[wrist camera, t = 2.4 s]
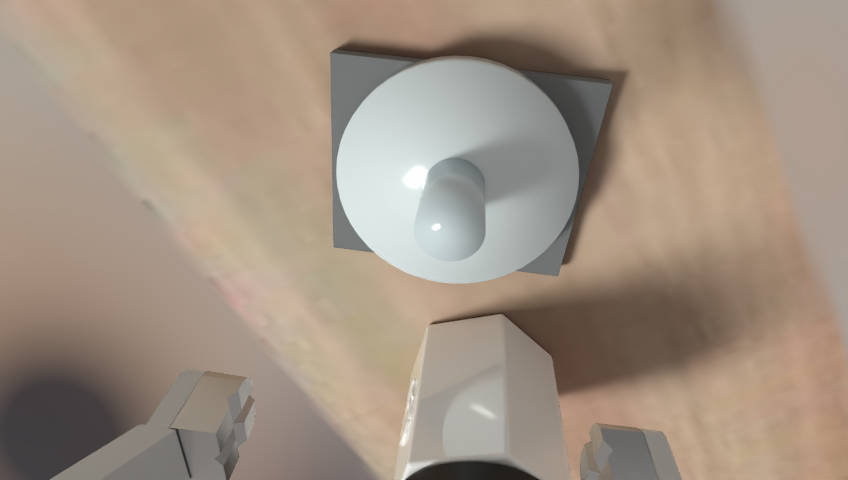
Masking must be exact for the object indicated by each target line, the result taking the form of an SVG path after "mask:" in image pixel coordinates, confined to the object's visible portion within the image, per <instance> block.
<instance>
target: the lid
mask: <svg viewBox="0 0 848 480" xmlns="http://www.w3.org/2000/svg"><path fill="white" fill-rule="evenodd" d="M336 176H337V187H338V192H339V196H340V200H341V203H342V206H343V209H344V211H345V214H346V216H347V218H348V219H349V221H350V223H351V225H352V227H353V228H354V230H355V231H356V232H357V234H358V235H359V237H360V238H361V239H362V240H363V241H364V242H365V243H366V245H367V246H368V247H369V248H370V249H371V250H373V251H374V252H375V253H376V254H377V255H378V256H379V257H381V258H382V259H384V260H385V261H387V262H388V263H389V264H391V265H393V266H395V267H397V268H398V269H400V270H402V271H404V272H407V273H409V274H412V275H414V276H417V277H420V278H424V279H427V280H432V281H437V282H443V283H456V284H457V283H475V282H482V281H487V280H491V279H495V278H499V277H501V276H504V275H507V274H510V273H512V272H514V271H516V270H518V269H520V268H522V267H524V266H525V265H527V264H528V263H530V262H531V261H533V260H535V259H536V258H537V257H538V256H539V255H541V254H542V253H543V252H544V251H545V250H546V249H547V248H548V247H549V246H550V245H551V244H552V243H553V242H554V241H555V240H556V238H557V237H558V236H559V234H560V233H561V231H562V230H563V228H564V227H565V225H566V223H567V221H568V219H569V217H570V215H571V213H572V210H573V207H574V204H575V201H576V196H577V192H578V185H579V165H578V156H577V152H576V148H575V144H574V141H573V138H572V136H571V134H570V131H569V129H568V126H567V124H566V122H565V119H564V117H563V116H562V114H561V112H560V111H559V109H558V107H557V106H556V104H555V103H554V102H553V101H552V99H551V98H550V97H549V96H548V95H547V93H546V92H545V91H544V90H543V89H541V88H540V87H539V86H538V85H537V84H536V83H535V82H534V81H532V80H531V79H529V78H528V77H526V76H525V75H523V74H522V73H521V72H519V71H517V70H515V69H513V68H511V67H509V66H507V65H505V64H502V63H499V62H496V61H492V60H489V59H485V58H479V57H474V56H457V55H453V56H442V57H435V58H431V59H427V60H422V61H419V62H417V63H414V64H412V65H409V66H406V67H404V68H402V69H401V70H399V71H397V72H395V73H393V74H392V75H390V76H389V77H388V78H386V79H385V80H384V81H382V82H381V83H380V84H378V85H377V86H376V87H375V88H374V89H373V90H372V91H371V92H370V93H369V94H368V95H367V97H366V98H365V99H364V101H363V102H362V103H361V105H360V106H359V107H358V109H357V110H356V112H355V113H354V114H353V116H352V118H351V119H350V121H349V123H348V125H347V127H346V129H345V131H344V134H343V137H342V139H341V142H340V146H339V151H338V156H337V167H336Z"/></svg>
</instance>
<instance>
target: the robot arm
mask: <svg viewBox="0 0 848 480" xmlns="http://www.w3.org/2000/svg"><path fill="white" fill-rule="evenodd" d="M252 388H253V386H252V382H251V378H248V377H242V376H236V375H229V374H223V373H216V372H210V371H204V370H197V369H190V368H187V369H185V370H184V371H183V372H182V373H181V374H180V375H179V376H178V378H177V379H176V381H175V382H174V384H173V385H172V387H171V388H170V390H169V391H168V393H167V394H166V396H165V397H164V399H163V400H162V402H161V403H160V405H159V406H158V408H157V409H156V411H155V412H154V414H153V415H152V417H151V418H150V420H149V421H148V422H147V424H146V425H138V426H136V427H135V428H133V429H131V430H130V431H128V432H126V433H125V434H123V435H122V436H120V437H118V438H117V439H115V440H114V441H112V442H110V443H109V444H107V445H105V446H104V447H102V448H101V449H99V450H97V451H96V452H94V453H92V454H91V455H89V456H88V457H86V458H84V459H83V460H81V461H79V462H78V463H76V464H75V465H73V466H71V467H70V468H68V469H66V470H65V471H63V472H62V473H60V474H58V475H57V476H55V477H53V478H52V479H50V480H190V479H194V480H229V478H230V476H231V474H232V472H233V470H234V468H235V465H236V463H237V461H238V459H239V452H238V446H239V445H241V444H242V443H243V442H245V441H246V440H247V439H248V437H249V434H250V432H251V429H252V426H253V422H254V418H255V400H254V399H253V398H252V397H251V396H250V395H249V394H250V392H251V390H252ZM590 438H591V441H590V442H588V443H586V444H585V445H584V447H583V450H582V453H581V459H580V476H581V480H682V478H681V476H680V473H679V470H678V467H677V465H676V462H675V459H674V457H673V454H672V451H671V449H670V446H669V443H668V441H667V438H666V436H665V435H664V433H663V432H660V431H653V430H645V429H638V428H634V427H625V426H617V425H608V424H600V423H595V424H594V425H593V426H592V428H591V430H590Z"/></svg>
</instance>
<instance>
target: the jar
mask: <svg viewBox="0 0 848 480" xmlns="http://www.w3.org/2000/svg"><path fill="white" fill-rule="evenodd" d="M399 443H400V446H399V452H398V458H397V464H396V470H395V476H394V480H571V475H570V468H569V462H568V455H567V449H566V443H565V436H564V430H563V423H562V417H561V411H560V404H559V398H558V392H557V385H556V379H555V372H554V366H553V360H552V357H551V355H550V354H548V353H547V352H546V351H545V350H544V349H543V348H541V347H540V346H539V345H538V344H537V343H536V342H534V341H533V340H532V339H531V338H530V337H529V336H527V335H526V334H525V333H524V332H523V331H522V330H520V329H519V328H518V327H517V326H516V325H515V324H513V323H512V322H511V321H510V320H509V319H508V318H506V317H505V316H504V315H502V314H496V315H490V316H484V317H477V318H471V319H464V320H458V321H451V322H445V323H438V324H432V325H429V326H428V327H427V328H426V332H425V335H424V338H423V341H422V344H421V347H420V350H419V353H418V356H417V359H416V362H415V365H414V368H413V371H412V374H411V380H410V386H409V392H408V398H407V404H406V410H405V414H404V418H403V424H402V428H401V434H400V440H399Z"/></svg>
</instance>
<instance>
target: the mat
mask: <svg viewBox="0 0 848 480" xmlns="http://www.w3.org/2000/svg"><path fill="white" fill-rule="evenodd" d="M330 60H331V120H332V181H333V241H334V247H336V248H343V249H351V250H359V251H366V252H374V251H373V250H371V249H370V248H369V247H368V246H367V245H366V243H365V242H364V241H363V240H362V239H361V238H360V237H359V235H358V234H357V232H356V231H355V230H354V228H353V227H352V225H351V223H350V221H349V219H348V218H347V216H346V214H345V211H344V209H343V206H342V203H341V200H340V196H339V192H338V187H337V176H336V167H337V156H338V151H339V146H340V142H341V139H342V137H343V134H344V131H345V129H346V127H347V125H348V123H349V121H350V119H351V118H352V116H353V114H354V113H355V112H356V110H357V109H358V107H359V106H360V105H361V103H362V102H363V101H364V99H365V98H366V97H367V95H368V94H369V93H370V92H371V91H372V90H373V89H374V88H375V87H376V86H377V85H378V84H380V83H381V82H382V81H384V80H385V79H386V78H388V77H389V76H390V75H392V74H393V73H395V72H397V71H399V70H401V69H402V68H404V67H406V66H409V65H412V64H414V63H417V62H419V61H422V60H427V59H420V58H411V57H402V56H393V55H384V54H375V53H366V52H357V51H348V50H339V49H335V50H333V51H332V52H331V53H330ZM515 70H517V71H519V72H521V73H522V74H523V75H525V76H526V77H528V78H529V79H531V80H532V81H534V82H535V83H536V84H537V85H538V86H539V87H540V88H541V89H543V90H544V91H545V92H546V93H547V95H548V96H549V97H550V98H551V99H552V101H553V102H554V103H555V104H556V106H557V107H558V109H559V111H560V112H561V114H562V116H563V117H564V119H565V122H566V124H567V126H568V129H569V131H570V134H571V136H572V138H573V141H574V144H575V148H576V152H577V156H578V165H579V185H578V192H577V196H576V201H575V204H574V207H573V210H572V213H571V215H570V217H569V219H568V221H567V223H566V225H565V227H564V228H563V230H562V231H561V233H560V234H559V236H558V237H557V238H556V240H555V241H554V242H553V243H552V244H551V245H550V246H549V247H548V248H547V249H546V250H545V251H544V252H543V253H542V254H541V255H539V256H538V257H537V258H536V259H535V260H533V261H531V262H530V263H528V264H527V265H525V266H524V267H522V268H520V269H518V270H516V271H521V272H529V273H537V274H544V275H552V276H558V275H559V271H560V268H561V264H562V261H563V257H564V254H565V250H566V247H567V243H568V240H569V236H570V233H571V229H572V226H573V222H574V219H575V215H576V212H577V208H578V205H579V201H580V198H581V194H582V191H583V187H584V184H585V180H586V177H587V173H588V170H589V166H590V163H591V159H592V156H593V152H594V149H595V145H596V141H597V138H598V134H599V131H600V127H601V124H602V120H603V117H604V113H605V110H606V106H607V103H608V99H609V96H610V92H611V89H612V85H613V84H612V83H611V82H610V81H609V80H608V79H599V78H590V77H581V76H572V75H563V74H554V73H545V72H536V71H527V70H518V69H515ZM374 253H375V252H374Z"/></svg>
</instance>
